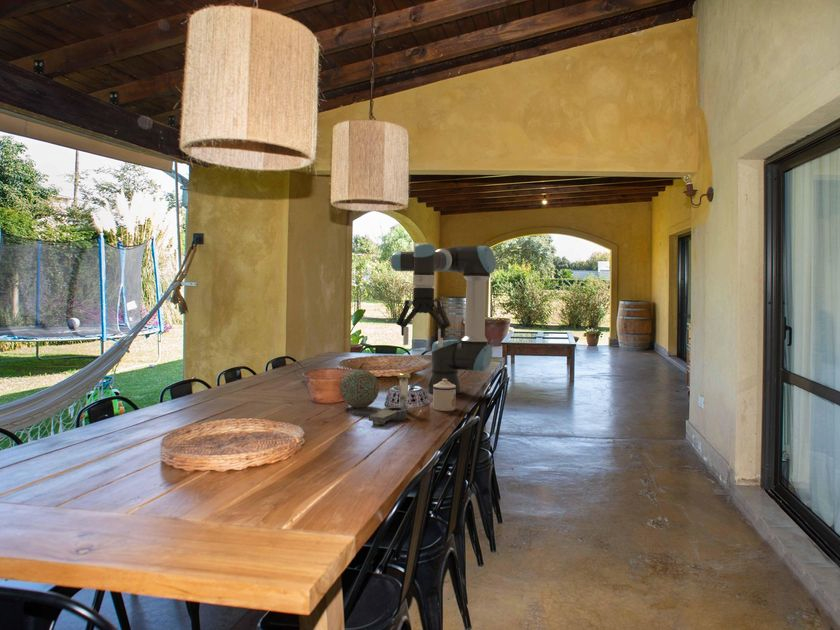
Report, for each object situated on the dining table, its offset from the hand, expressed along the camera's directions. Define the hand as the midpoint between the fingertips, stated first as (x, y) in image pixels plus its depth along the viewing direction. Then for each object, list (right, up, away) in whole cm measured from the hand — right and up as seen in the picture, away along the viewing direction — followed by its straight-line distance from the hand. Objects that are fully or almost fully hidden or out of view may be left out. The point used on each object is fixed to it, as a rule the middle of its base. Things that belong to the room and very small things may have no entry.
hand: (422, 345), depth 215 cm
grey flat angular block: (-17, -26, -4) cm, 31 cm away
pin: (-7, -25, +8) cm, 27 cm away
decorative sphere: (-24, -25, +14) cm, 37 cm away
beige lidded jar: (+8, -25, +16) cm, 31 cm away
